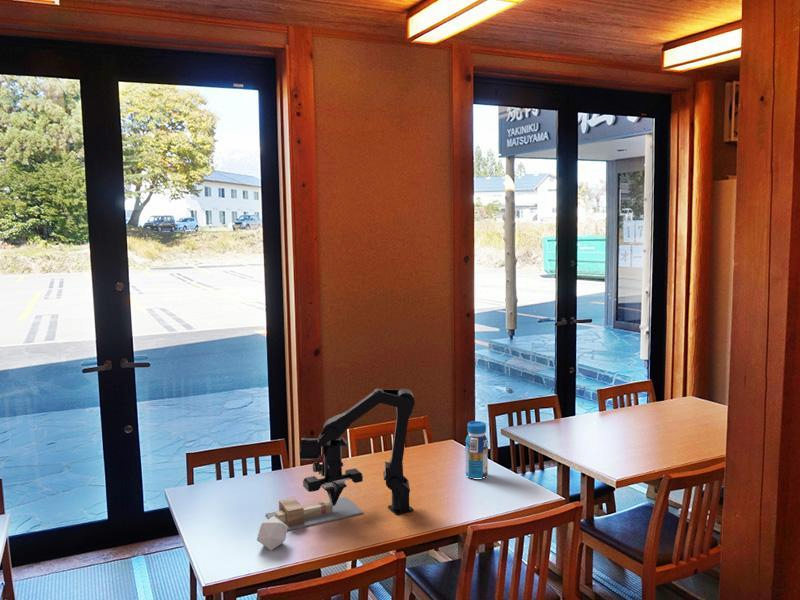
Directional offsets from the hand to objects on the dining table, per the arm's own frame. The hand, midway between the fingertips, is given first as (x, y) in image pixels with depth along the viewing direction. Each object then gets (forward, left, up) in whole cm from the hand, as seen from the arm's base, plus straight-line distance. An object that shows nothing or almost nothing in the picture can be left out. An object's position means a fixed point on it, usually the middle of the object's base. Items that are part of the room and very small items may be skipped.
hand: (333, 505), depth 213 cm
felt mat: (+1, +6, -2) cm, 7 cm away
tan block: (0, +14, -2) cm, 14 cm away
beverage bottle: (+3, -58, -2) cm, 58 cm away
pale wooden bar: (0, +10, -2) cm, 10 cm away
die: (-13, +24, -2) cm, 28 cm away
